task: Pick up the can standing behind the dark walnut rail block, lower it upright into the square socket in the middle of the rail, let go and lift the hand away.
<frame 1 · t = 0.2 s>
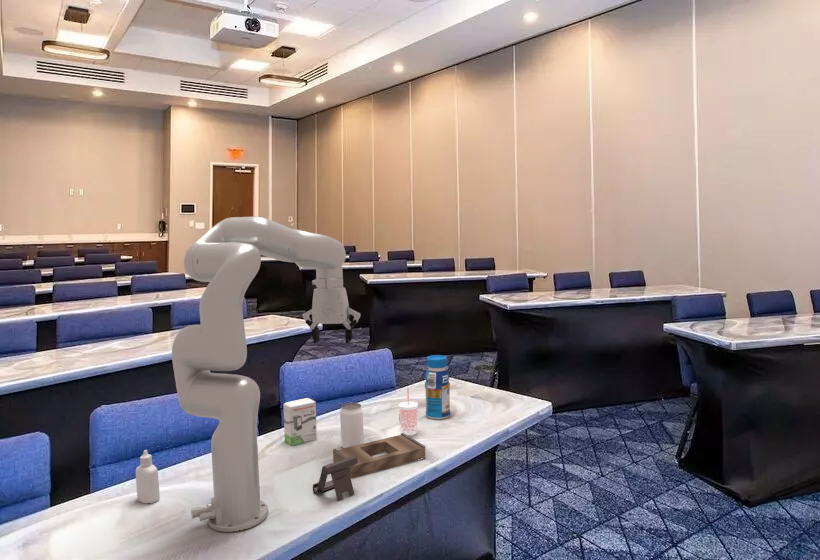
hand: (332, 342, 160), 30 cm above the table, tool pointing down, fingers open, 9 cm apart
can: (352, 446, 159), on the table
beverage bottle: (437, 416, 183), on the table
beverage cup: (409, 433, 168), on the table
ink box: (301, 440, 164), on the table
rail: (379, 459, 149), on the table
portable electronic device stand: (337, 493, 131), on the table
eye dropper bottle: (148, 500, 129), on the table
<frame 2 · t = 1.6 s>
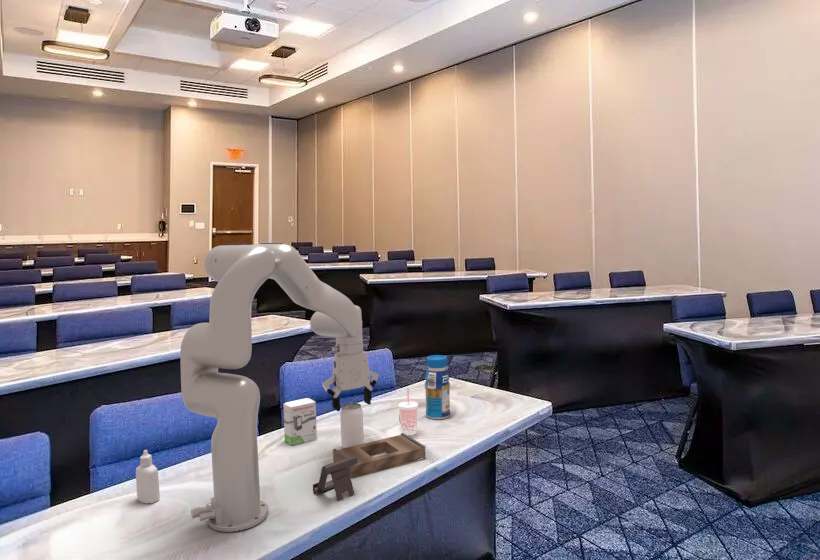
hand: (352, 406, 158), 12 cm above the table, tool pointing down, fingers open, 9 cm apart
nothing on the table moved.
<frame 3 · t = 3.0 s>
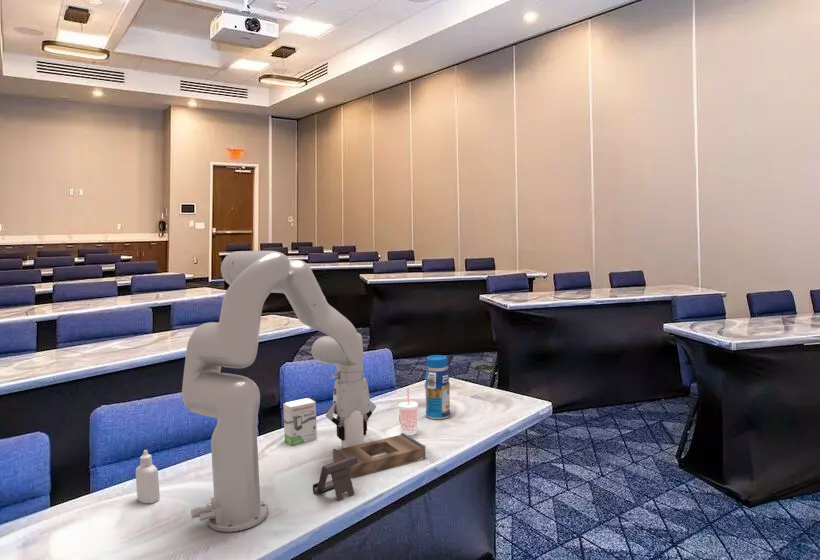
hand: (352, 435, 159), 3 cm above the table, tool pointing down, fingers closed on can, 6 cm apart
can: (352, 446, 159), on the table, touching gripper
everything else where it was.
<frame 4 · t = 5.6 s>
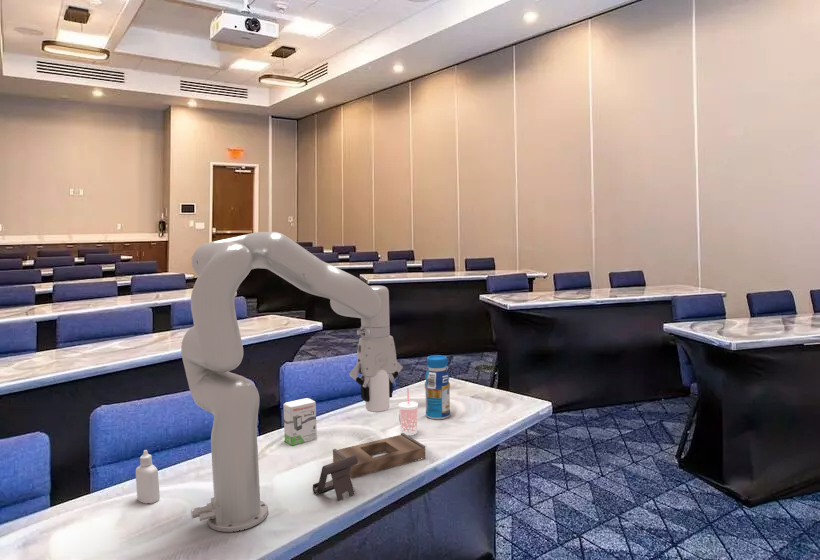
hand: (377, 397, 147), 17 cm above the table, tool pointing down, fingers closed on can, 6 cm apart
can: (377, 409, 147), point 14 cm above the table, touching gripper
everything else where it was.
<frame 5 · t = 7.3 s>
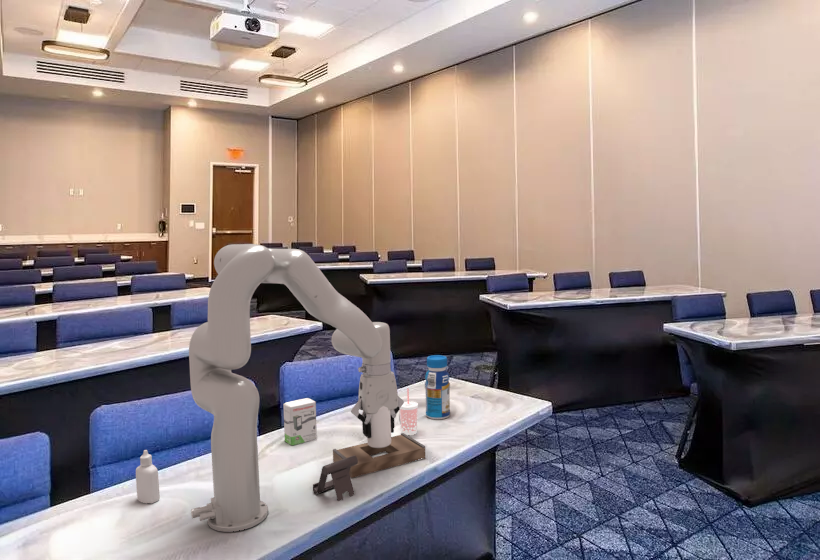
hand: (378, 433, 148), 7 cm above the table, tool pointing down, fingers closed on can, 6 cm apart
can: (379, 444, 148), point 4 cm above the table, touching gripper
everything else where it was.
when the fingers open (4 cm above the table, at t = 8.4 s): can drops 1 cm, resting in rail.
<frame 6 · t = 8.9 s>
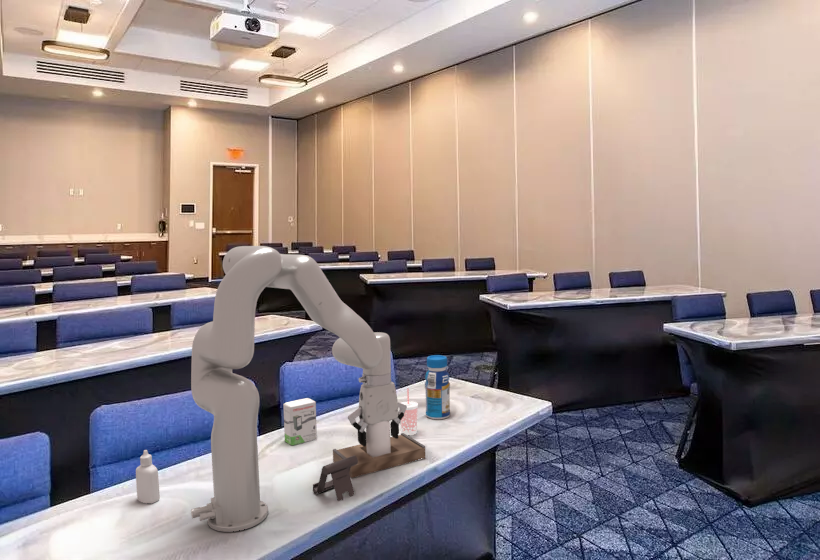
hand: (378, 440, 148), 5 cm above the table, tool pointing down, fingers open, 9 cm apart
can: (379, 460, 149), resting in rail
everything else where it was.
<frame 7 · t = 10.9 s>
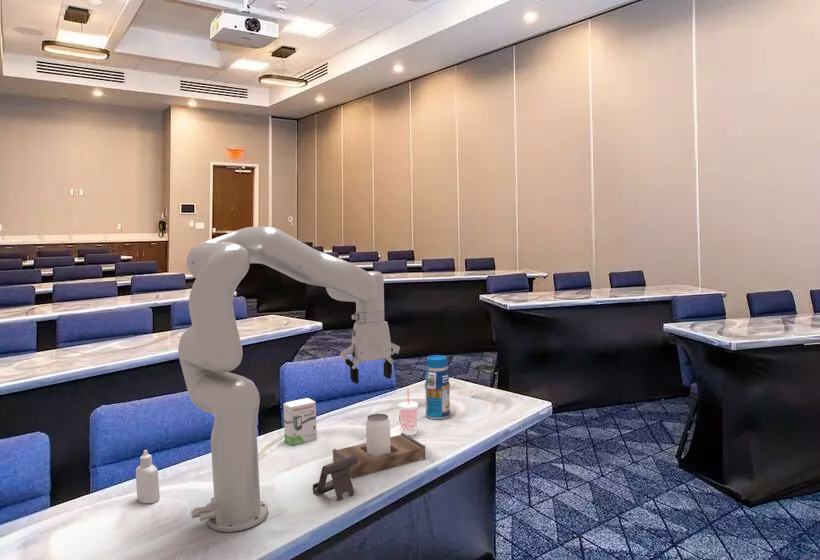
hand: (371, 379, 148), 22 cm above the table, tool pointing down, fingers open, 9 cm apart
nothing on the table moved.
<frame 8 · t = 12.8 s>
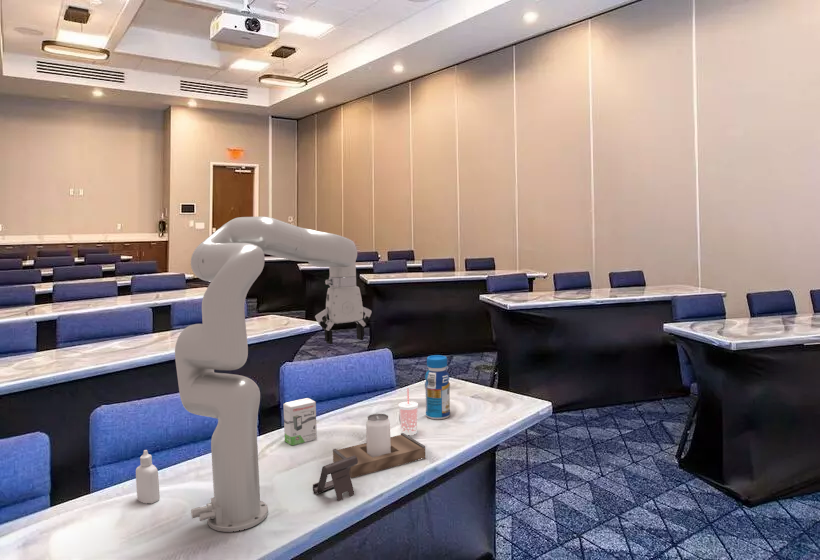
hand: (345, 341, 159), 30 cm above the table, tool pointing down, fingers open, 9 cm apart
nothing on the table moved.
at the end: can 0.1 cm off-centre on the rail, point 0.0 cm above the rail's base; can tilted 0°; the gripper is holding nothing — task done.
